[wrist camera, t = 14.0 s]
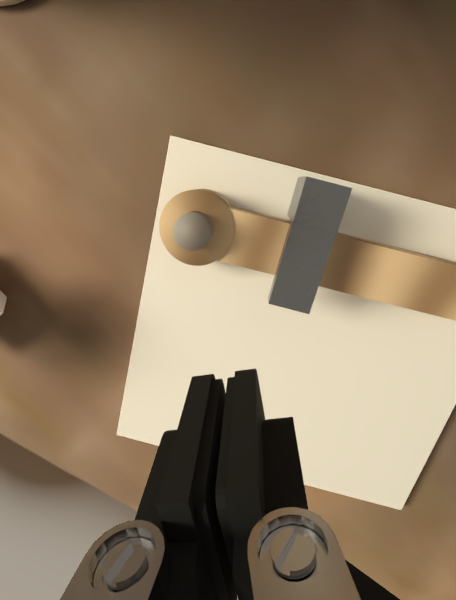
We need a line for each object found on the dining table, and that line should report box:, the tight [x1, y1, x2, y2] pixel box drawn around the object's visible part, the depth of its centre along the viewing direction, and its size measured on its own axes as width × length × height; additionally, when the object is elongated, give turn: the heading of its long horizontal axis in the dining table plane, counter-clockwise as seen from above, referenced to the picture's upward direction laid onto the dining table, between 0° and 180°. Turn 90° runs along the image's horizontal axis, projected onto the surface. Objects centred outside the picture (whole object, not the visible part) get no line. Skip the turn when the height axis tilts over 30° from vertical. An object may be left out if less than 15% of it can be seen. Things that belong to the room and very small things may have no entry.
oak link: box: [159, 189, 456, 321], centre depth 29 cm, size 25×6×5 cm, turn 77°
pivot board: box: [117, 136, 456, 510], centre depth 34 cm, size 29×30×1 cm
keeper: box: [268, 176, 352, 314], centre depth 28 cm, size 9×3×6 cm, turn 166°
